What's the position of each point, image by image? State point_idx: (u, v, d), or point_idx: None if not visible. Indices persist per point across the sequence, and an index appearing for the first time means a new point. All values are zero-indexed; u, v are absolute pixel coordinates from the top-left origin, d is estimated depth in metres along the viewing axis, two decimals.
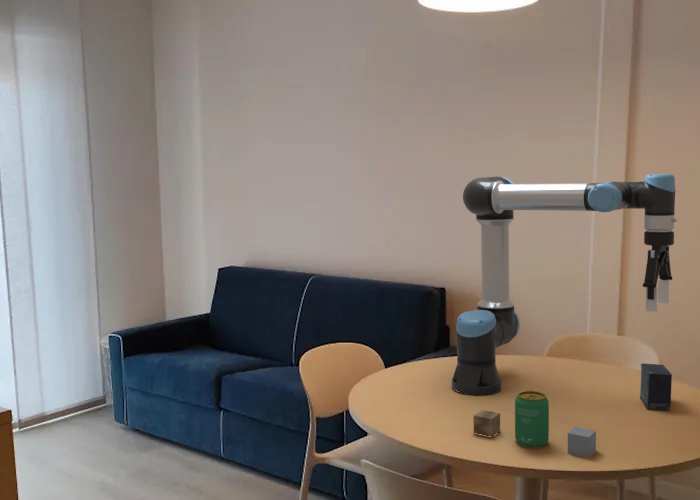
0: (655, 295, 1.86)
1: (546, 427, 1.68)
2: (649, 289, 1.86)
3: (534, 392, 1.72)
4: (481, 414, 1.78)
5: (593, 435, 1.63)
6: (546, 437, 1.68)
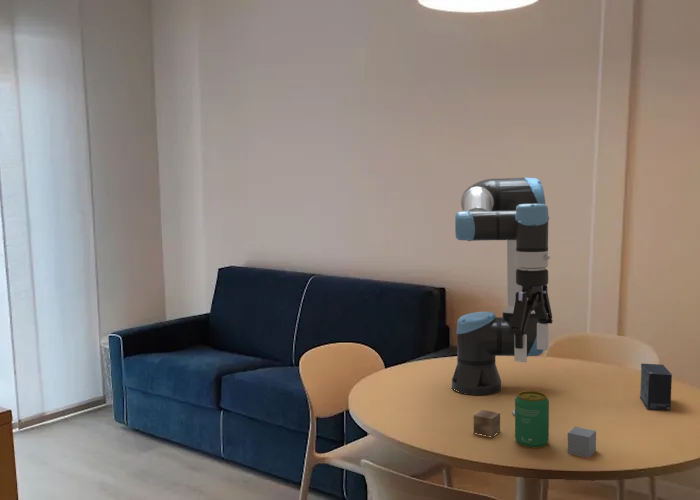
0: (524, 344, 1.62)
1: (546, 427, 1.68)
2: (517, 337, 1.61)
3: (534, 392, 1.72)
4: (481, 414, 1.78)
5: (593, 435, 1.63)
6: (546, 437, 1.68)
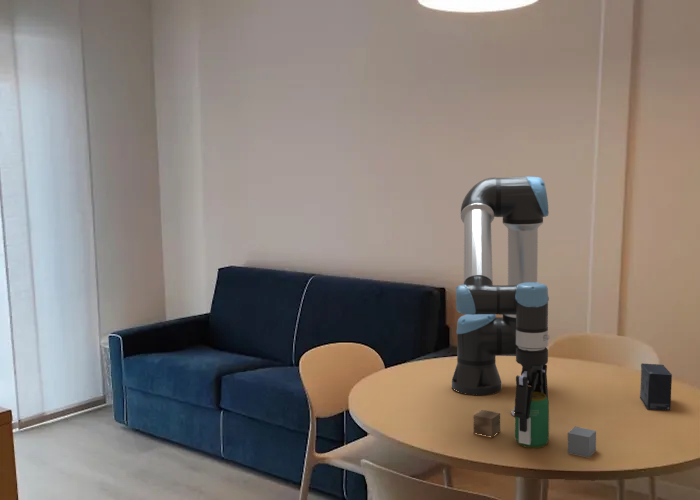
0: (528, 427, 1.66)
1: (546, 427, 1.68)
2: (521, 420, 1.66)
3: (534, 392, 1.72)
4: (481, 414, 1.78)
5: (593, 435, 1.63)
6: (546, 437, 1.68)
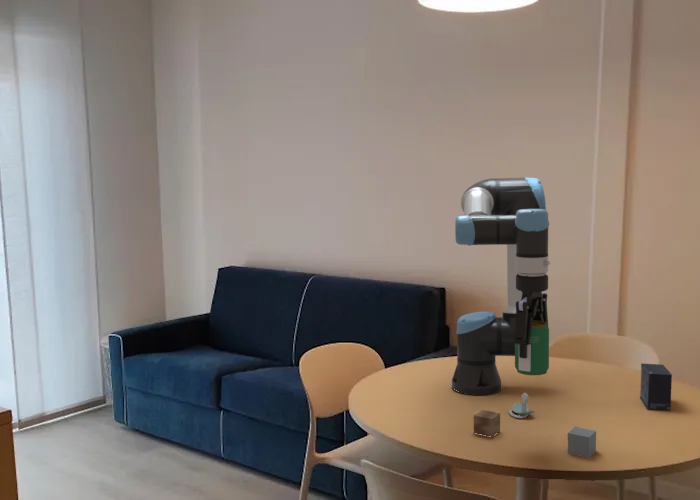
0: (528, 353, 1.64)
1: (546, 354, 1.66)
2: (521, 346, 1.64)
3: (534, 321, 1.71)
4: (481, 414, 1.78)
5: (593, 435, 1.63)
6: (546, 364, 1.66)
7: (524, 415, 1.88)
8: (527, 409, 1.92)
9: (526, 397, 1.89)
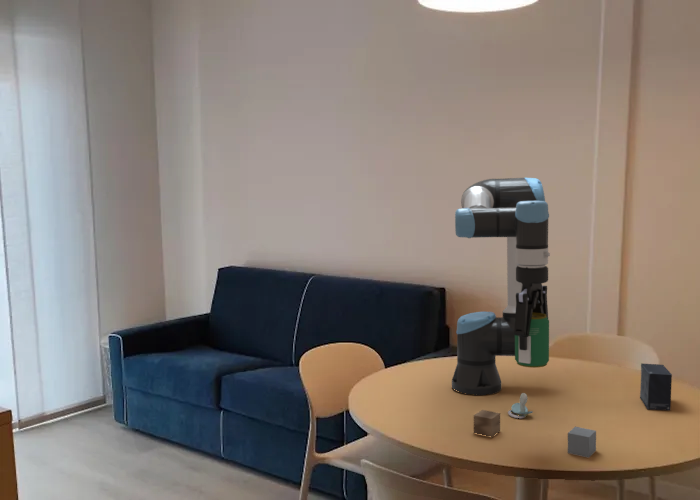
0: (528, 345, 1.64)
1: (546, 346, 1.66)
2: (521, 338, 1.64)
3: (534, 313, 1.70)
4: (481, 414, 1.78)
5: (593, 435, 1.63)
6: (546, 356, 1.66)
7: (523, 415, 1.88)
8: (526, 409, 1.92)
9: (525, 397, 1.89)
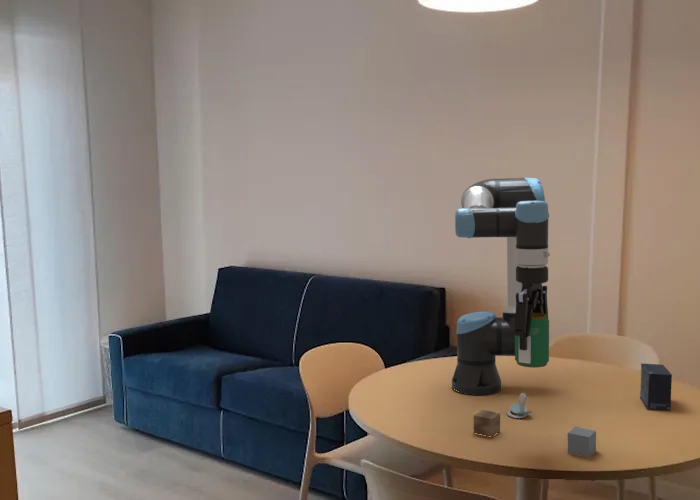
0: (528, 345, 1.64)
1: (546, 346, 1.66)
2: (521, 338, 1.64)
3: (534, 313, 1.70)
4: (481, 414, 1.78)
5: (593, 435, 1.63)
6: (546, 356, 1.66)
7: (522, 415, 1.88)
8: (525, 409, 1.92)
9: (524, 397, 1.89)
